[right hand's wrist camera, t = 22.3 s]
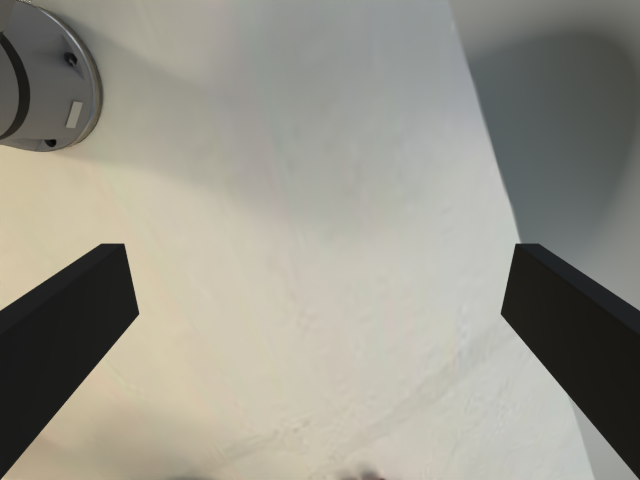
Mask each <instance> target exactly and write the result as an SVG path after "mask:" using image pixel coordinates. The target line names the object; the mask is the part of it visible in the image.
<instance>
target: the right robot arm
mask: <svg viewBox="0 0 640 480" xmlns="http://www.w3.org/2000/svg"><path fill="white" fill-rule="evenodd" d="M101 105H102V87H101V81H100V77H99V73H98V70H97V67H96V65H95V62H94V60H93V58H92V56H91V54H90V52H89V51H88V49H87V48H86V46H85V44H84V43H83V42H82V40H81V39H80V38H79V37H78V35H77V34H76V33H75V32H74V31H73V30H72V29H71V28H70V27H69V26H68V25H67V24H66V23H64V22H63V21H62V20H61V19H59V18H58V17H56V16H55V15H53V14H52V13H50V12H48V11H46V10H44V9H42V8H40V7H37V6H34V5H31V4H28V3H25V2H22V1H19V0H0V144H1V145H5V146H10V147H14V148H18V149H23V150H28V151H36V152H47V151H54V150H59V149H64V148H68V147H71V146H73V145H75V144H77V143H79V142H80V141H82V140H83V139H84V138H85V137H86V136H88V135H89V133H90V132H91V131H92V129H93V128H94V126H95V125H96V122H97V120H98V118H99V115H100V111H101ZM138 315H139V310H138V305H137V301H136V296H135V291H134V287H133V282H132V277H131V273H130V268H129V263H128V259H127V254H126V249H125V245H124V244H100V245H99V246H97V247H96V248H94V249H93V250H91V251H90V252H88V253H87V254H85V255H84V256H82V257H81V258H79V259H78V260H76V261H75V262H73V263H72V264H70V265H69V266H67V267H66V268H64V269H63V270H61V271H60V272H58V273H57V274H55V275H54V276H52V277H51V278H49V279H47V280H46V281H44V282H43V283H41V284H40V285H38V286H37V287H35V288H34V289H32V290H31V291H29V292H28V293H26V294H25V295H23V296H22V297H20V298H19V299H17V300H16V301H14V302H13V303H11V304H10V305H8V306H7V307H5V308H4V309H2V310H1V311H0V480H1V479H2V477H3V476H4V475H5V474H6V473H7V471H8V470H9V469H10V468H11V467H12V465H13V464H14V463H15V462H16V461H17V459H18V458H19V457H20V456H21V455H22V453H23V452H24V451H25V450H26V449H27V448H28V446H29V445H30V444H31V443H32V442H33V440H34V439H35V438H36V437H37V436H38V434H39V433H40V432H41V431H42V430H43V428H44V427H45V426H46V425H47V424H48V422H49V421H50V420H51V419H52V418H53V416H54V415H55V414H56V413H57V412H58V411H59V409H60V408H61V407H62V406H63V405H64V403H65V402H66V401H67V400H68V399H69V397H70V396H71V395H72V394H73V393H74V391H75V390H76V389H77V388H78V387H79V385H80V384H81V383H82V382H83V381H84V379H85V378H86V377H87V376H88V375H89V374H90V372H91V371H92V370H93V369H94V368H95V366H96V365H97V364H98V363H99V362H100V360H101V359H102V358H103V357H104V356H105V354H106V353H107V352H108V351H109V350H110V348H111V347H112V346H113V345H114V344H115V342H116V341H117V340H118V339H119V338H120V336H121V335H122V334H123V333H124V332H125V331H126V329H127V328H128V327H129V326H130V325H131V323H132V322H133V321H134V320H135V319H136V317H137V316H138ZM501 315H502V316H503V317H504V319H505V320H506V321H507V322H508V323H509V325H510V326H511V327H512V328H513V329H514V331H515V332H516V333H517V334H518V335H519V337H520V338H521V339H522V340H523V341H524V342H525V344H526V345H527V346H528V347H529V348H530V350H531V351H532V352H533V353H534V354H535V356H536V357H537V358H538V359H539V360H540V362H541V363H542V364H543V365H544V366H545V368H546V369H547V370H548V371H549V372H550V374H551V375H552V376H553V377H554V378H555V379H556V381H557V382H558V383H559V384H560V385H561V387H562V388H563V389H564V390H565V391H566V393H567V394H568V395H569V396H570V397H571V399H572V400H573V401H574V402H575V403H576V405H577V406H578V407H579V408H580V409H581V411H582V412H583V413H584V414H585V415H586V416H587V418H588V419H589V420H590V421H591V422H592V424H593V425H594V426H595V427H596V428H597V430H598V431H599V432H600V433H601V434H602V435H603V437H604V438H605V439H606V440H607V442H608V443H609V444H610V445H611V446H612V448H613V449H614V450H615V451H616V452H617V453H618V455H619V456H620V457H621V458H622V459H623V461H624V462H625V463H626V464H627V465H628V467H629V468H630V469H631V470H632V471H633V473H634V474H635V475H636V476H637V477H638V479H639V480H640V311H639V310H638V309H636V308H635V307H633V306H632V305H630V304H629V303H627V302H626V301H624V300H623V299H621V298H620V297H618V296H617V295H615V294H613V293H612V292H611V291H609V290H608V289H606V288H605V287H603V286H602V285H600V284H599V283H597V282H596V281H594V280H592V279H591V278H589V277H588V276H586V275H585V274H583V273H582V272H580V271H579V270H577V269H576V268H574V267H573V266H571V265H570V264H568V263H567V262H565V261H564V260H562V259H561V258H559V257H558V256H556V255H555V254H553V253H552V252H550V251H549V250H547V249H546V248H544V247H543V246H541V245H540V244H516V245H515V249H514V254H513V259H512V263H511V268H510V273H509V277H508V282H507V287H506V291H505V296H504V301H503V305H502V310H501Z"/></svg>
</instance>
